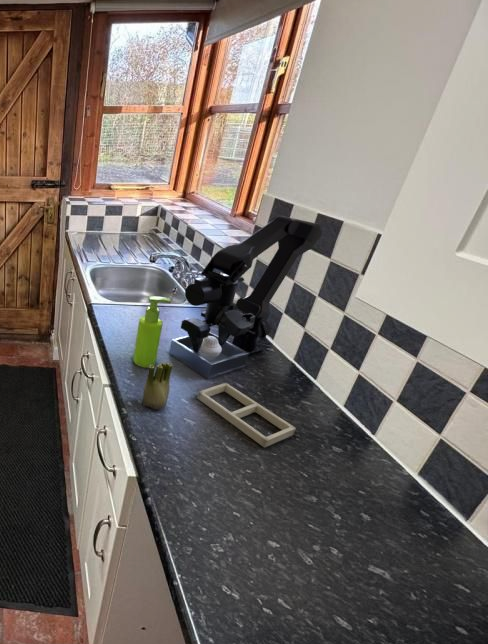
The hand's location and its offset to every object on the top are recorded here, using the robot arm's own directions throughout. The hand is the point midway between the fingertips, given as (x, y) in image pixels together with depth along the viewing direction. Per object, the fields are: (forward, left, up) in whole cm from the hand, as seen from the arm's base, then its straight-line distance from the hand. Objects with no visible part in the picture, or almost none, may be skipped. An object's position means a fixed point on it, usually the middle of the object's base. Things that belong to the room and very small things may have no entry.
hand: (208, 348), depth 112 cm
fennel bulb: (+27, +9, -4) cm, 29 cm away
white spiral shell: (0, 0, -3) cm, 3 cm away
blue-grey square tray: (0, 0, -4) cm, 4 cm away
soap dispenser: (+16, -6, -4) cm, 18 cm away
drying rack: (+11, +20, -4) cm, 23 cm away
